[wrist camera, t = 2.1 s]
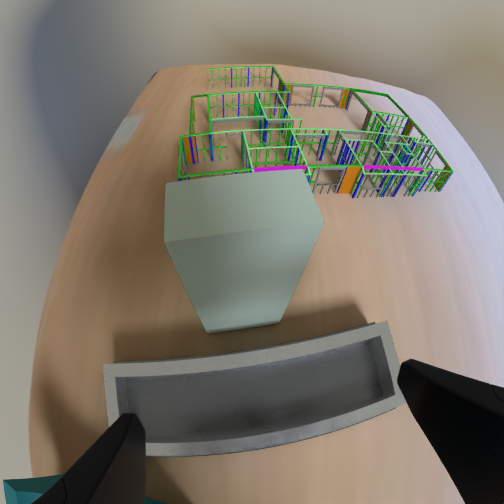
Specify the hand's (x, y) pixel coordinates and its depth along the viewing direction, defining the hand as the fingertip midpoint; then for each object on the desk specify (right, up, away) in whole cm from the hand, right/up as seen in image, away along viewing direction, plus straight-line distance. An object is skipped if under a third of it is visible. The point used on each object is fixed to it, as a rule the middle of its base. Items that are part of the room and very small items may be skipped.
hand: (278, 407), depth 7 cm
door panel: (-2, 0, +15) cm, 15 cm away
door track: (-1, -7, +12) cm, 13 cm away
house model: (+7, +23, +30) cm, 39 cm away
